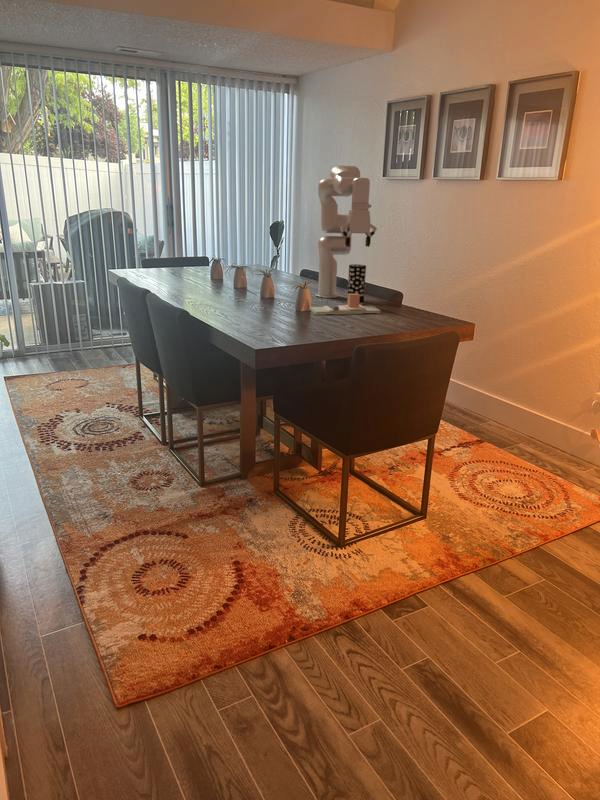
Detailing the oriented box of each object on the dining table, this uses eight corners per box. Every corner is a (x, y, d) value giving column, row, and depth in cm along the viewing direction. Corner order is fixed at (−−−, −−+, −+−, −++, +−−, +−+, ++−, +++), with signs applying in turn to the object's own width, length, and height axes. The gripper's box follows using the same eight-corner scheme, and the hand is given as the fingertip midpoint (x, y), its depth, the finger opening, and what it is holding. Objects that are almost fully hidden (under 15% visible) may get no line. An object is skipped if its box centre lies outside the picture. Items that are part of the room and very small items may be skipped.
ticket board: (309, 310, 289) (309, 302, 288) (371, 308, 297) (372, 301, 296) (316, 315, 278) (316, 307, 277) (380, 313, 286) (381, 305, 285)
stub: (343, 306, 292) (344, 292, 290) (359, 305, 294) (360, 292, 292) (350, 310, 283) (351, 296, 281) (366, 309, 285) (367, 295, 282)
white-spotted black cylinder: (347, 307, 299) (349, 266, 292) (346, 303, 307) (348, 264, 300) (364, 307, 299) (366, 266, 292) (362, 304, 307) (365, 264, 300)
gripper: (374, 207, 274) (371, 245, 280) (338, 206, 269) (337, 245, 275) (381, 207, 268) (378, 247, 273) (344, 207, 263) (342, 247, 268)
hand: (357, 246), depth 274 cm, fingers open, 9 cm apart
